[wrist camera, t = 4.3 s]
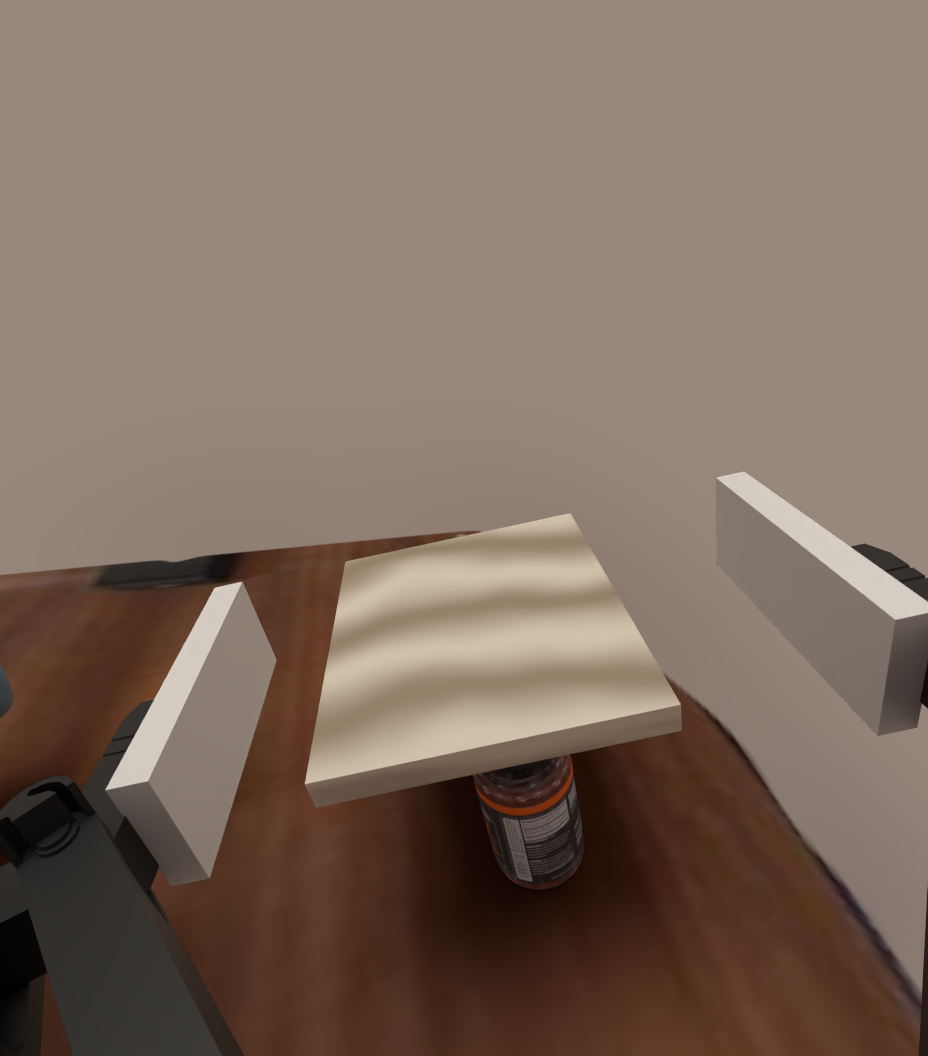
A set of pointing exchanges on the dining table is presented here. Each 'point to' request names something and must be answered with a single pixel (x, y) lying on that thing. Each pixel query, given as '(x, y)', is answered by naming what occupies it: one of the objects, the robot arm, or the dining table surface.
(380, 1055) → the dining table surface
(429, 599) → the cream l-shaped stand
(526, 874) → the supplement bottle
